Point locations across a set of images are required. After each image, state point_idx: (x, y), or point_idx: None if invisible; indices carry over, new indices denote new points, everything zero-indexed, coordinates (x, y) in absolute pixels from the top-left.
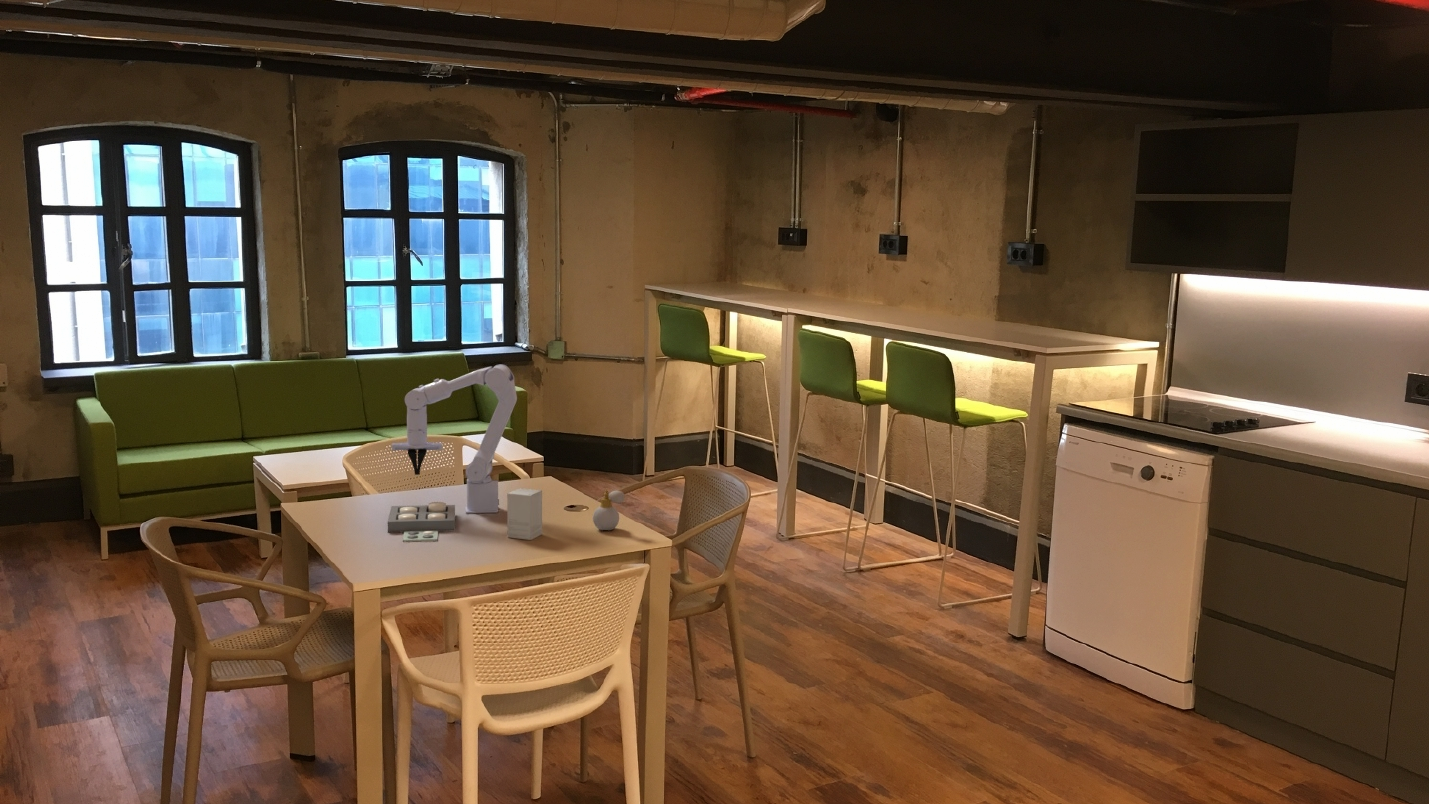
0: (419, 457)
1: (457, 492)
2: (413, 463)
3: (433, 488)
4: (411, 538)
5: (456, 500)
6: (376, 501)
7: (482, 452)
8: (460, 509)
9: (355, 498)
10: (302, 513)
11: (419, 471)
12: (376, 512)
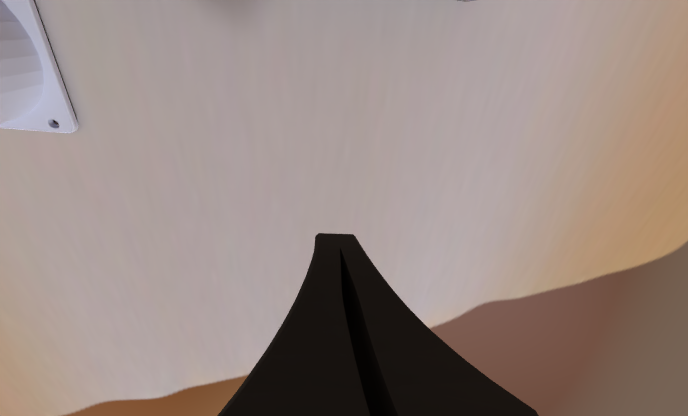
0: (327, 380)
1: (183, 334)
2: (395, 305)
3: None
4: None
5: (164, 248)
6: (450, 260)
7: None
8: (98, 87)
9: (496, 294)
10: None
11: (318, 246)
12: (504, 103)
